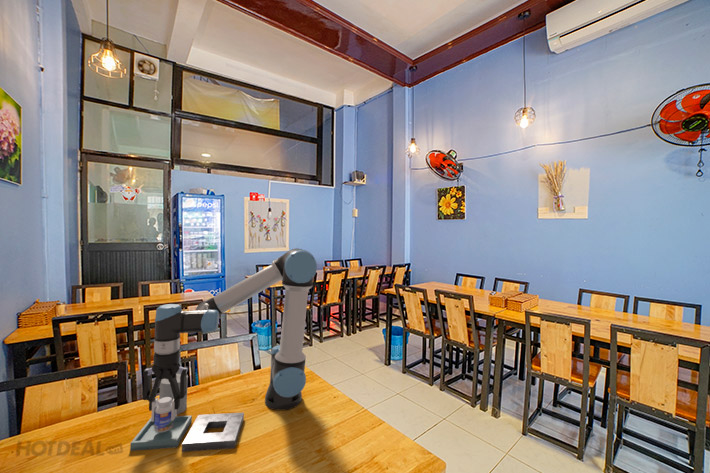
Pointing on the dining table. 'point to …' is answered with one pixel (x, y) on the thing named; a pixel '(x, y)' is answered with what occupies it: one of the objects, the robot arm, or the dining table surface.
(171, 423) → the pill bottle
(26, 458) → the dining table surface
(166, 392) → the gray cylinder
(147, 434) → the tray
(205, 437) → the socket plate
